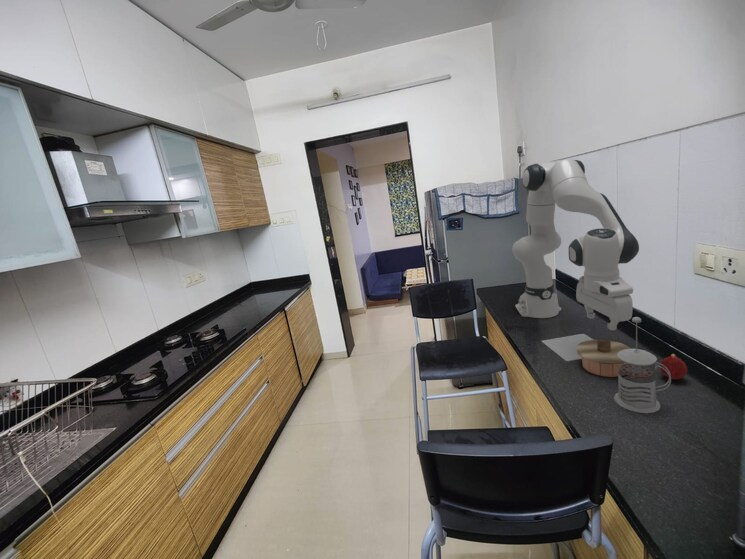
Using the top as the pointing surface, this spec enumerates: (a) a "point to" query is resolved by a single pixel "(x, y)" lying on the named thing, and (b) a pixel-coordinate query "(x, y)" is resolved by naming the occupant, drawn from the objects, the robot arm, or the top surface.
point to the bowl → (601, 368)
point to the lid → (601, 351)
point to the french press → (636, 394)
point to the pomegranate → (674, 367)
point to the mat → (567, 346)
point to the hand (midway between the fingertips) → (601, 323)
